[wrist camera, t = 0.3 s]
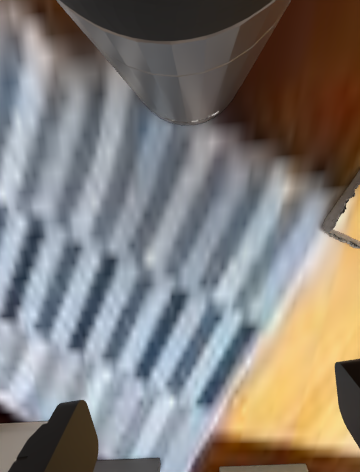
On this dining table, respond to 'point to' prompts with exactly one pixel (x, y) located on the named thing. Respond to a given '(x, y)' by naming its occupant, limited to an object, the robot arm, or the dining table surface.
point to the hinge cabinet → (16, 434)
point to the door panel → (266, 468)
